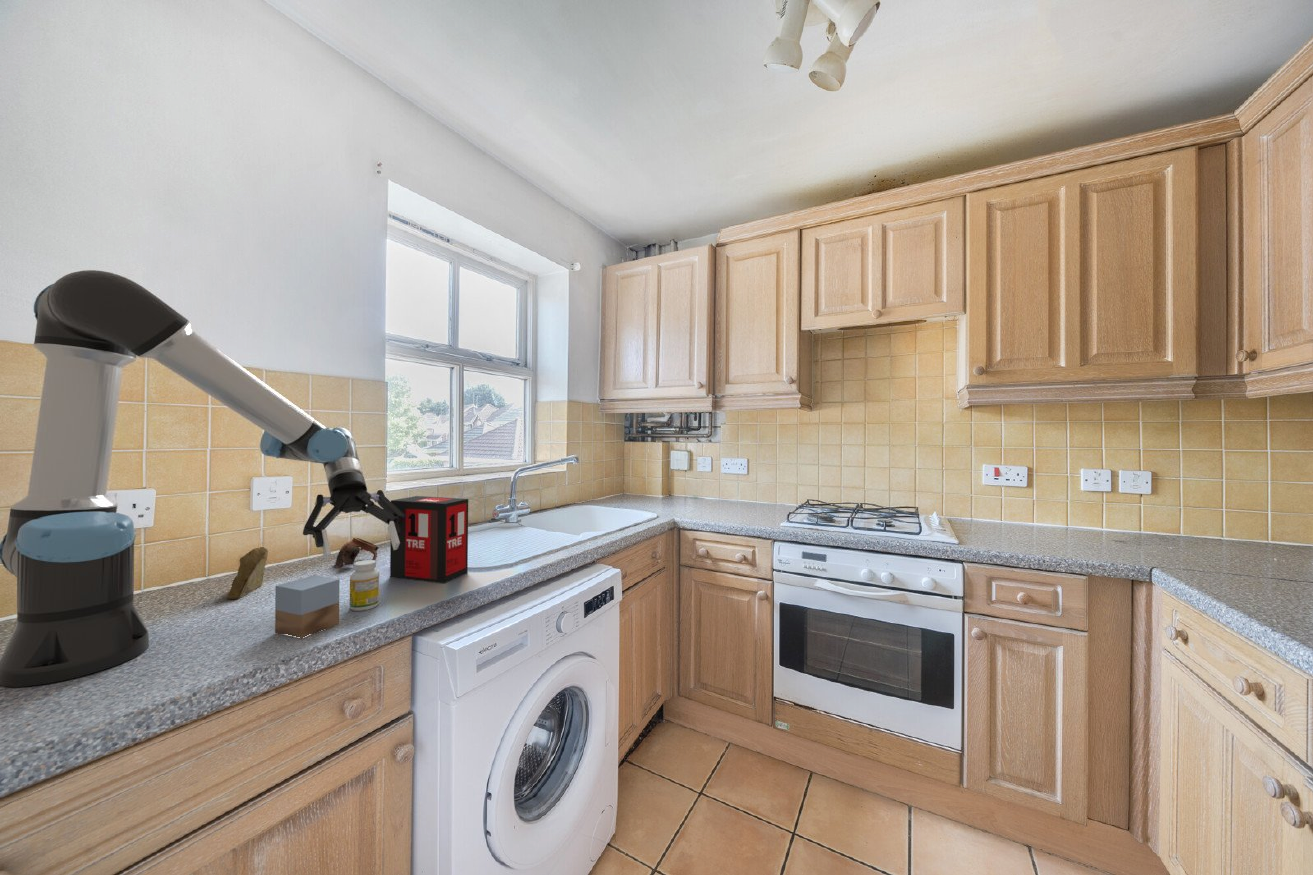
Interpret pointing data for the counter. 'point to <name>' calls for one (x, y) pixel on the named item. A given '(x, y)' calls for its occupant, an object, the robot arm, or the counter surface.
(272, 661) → the counter surface
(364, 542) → the pottery mug
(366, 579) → the supplement bottle
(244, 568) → the rock
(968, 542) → the counter surface
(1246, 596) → the counter surface
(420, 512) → the cleaning product box
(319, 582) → the slate-blue block
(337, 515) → the robot arm
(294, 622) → the walnut block
